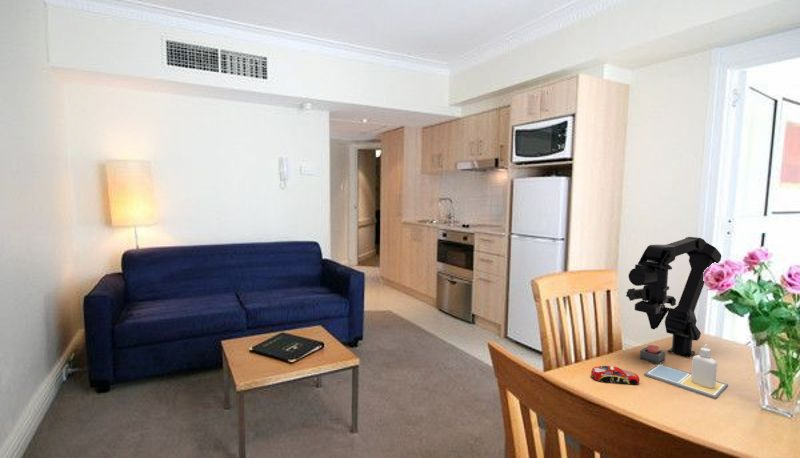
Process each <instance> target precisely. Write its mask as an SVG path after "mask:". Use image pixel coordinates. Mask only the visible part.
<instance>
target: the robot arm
mask: <svg viewBox="0 0 800 458" xmlns="http://www.w3.org/2000/svg"><path fill="white" fill-rule="evenodd" d="M683 254H686V255H687V256H688V262H689V263H688V264H689V267H690V271H689V274H688V277H687V280H686V282H685V285H684V288H683V290H682V293H681V296H680V299H679V300H678V304H677V303H676V302H677V299H676V298H675V297H674V296H672V295H668V293H667V292H668V290H670V286H668V279H669V271H670V270H672V269H673V267H672V266H671V265H670V264H671V263H672V262H675V260H676V258H677V257H678V256H681V255H683ZM721 260H722V254H721V253H720V251H719V250H718V248H716V247H715V246H713V245H712V244H710V243H708V242H706V241H705V239H704V238H701V237H698V236H697V237H695V236H688V237H685V238H684V239H680V240H677V241H673V242H670V243H667V244H649V245H647V247H646V248H645V250H644V251H643V253H642V255H641V256H640V259H639V261H637V264H634V268H632V269H631V270H630V271H629V273H628V279H629V282H630V283H631V284H632V285H633V286H637V287H640V286H643V287H642V288H635V287H632V288H628V289H627V291H626V298H628V300H629V301H630V302H631V301H635V300H640V301H638V302H636V303H634V311H636V312H641V313H645V314H646V315H647V318H648V322H649V326H650V329H651V330H656V329H658V327H659V326H660V325H661V323H662V321H663V320H664V326H665V330H666V331H665V332H666V333H667V334H671V335H672V342H671V343H672V344H671V347H670V348H669V349H668V350H667V352H668V353H670V354H675V355H679V356H683V357H685V358H691V357H692V356H693V355H695V354H696V351H694V350H692V349H693V341H699V340H700V338H701V334H702V333H701V331H700V330H699V327H697V322H698V320H697V317H696V314H695V310H696V307H697V304H698V301H699V299H700V296H701V294H702V290H703V288H704V286H705V283H704V281H703V272H704V270H705V269H706V268H707V267H709V266H710V265H711V264H712V263H714V262H716V263H718V264H719V263H720V261H721ZM665 304H669V305H670V306H671V307H672V308H671V307H667V306H666V305H665ZM676 304H677V305H676ZM674 306H675V307H674ZM673 307H674V308H673ZM664 318H665V319H664Z"/></svg>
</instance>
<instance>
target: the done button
mask: <svg viewBox="0 0 800 458" xmlns="http://www.w3.org/2000/svg"><path fill="white" fill-rule="evenodd" d="M646 347H647V352H649V353H653V354H658V350H660V349H659V347H658V346H657V345H654V344H653V345H652V344H649V345H646Z"/></svg>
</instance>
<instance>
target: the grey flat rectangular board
mask: <svg viewBox="0 0 800 458" xmlns="http://www.w3.org/2000/svg"><path fill="white" fill-rule="evenodd" d="M691 374H692V372H690V371H688V372H687V371H684V370H682V369H678V368H675V367H673V366H672V367H671V366H668V365H665V364H663V363H660V364H655V366H652V368H650V369H649V370H647V371H646V372H645V373H643V376H644V377H648V378H650V379H652V380H656V381H659V382H662V383H664V384H668V385H671V386H674V387H678V388H680V389H684V390H686V391H689V392H693V393H695V394H698V395H702V396H704V397H707V398H711V399H714V400H716V399H718V398H719V397H720V396H721V394H723V392H724V391H725V390H726V389H727V388H728V387H729V384H727V383H724V382H721V381H718V380H716V384H715V387H714V388H707V387H703V386H700V385H698V384H696V383H694V382H692V380H691Z"/></svg>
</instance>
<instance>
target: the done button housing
mask: <svg viewBox="0 0 800 458" xmlns="http://www.w3.org/2000/svg"><path fill="white" fill-rule="evenodd" d="M639 360H641V361H644V362H647V361H648V362H647V363H650V362H651V364H654V365H657V364H663V362H665V360H666V351H663V350H660V349H659V350H658V354H653V353H649V352H647V346H646V347H644V348H643V349H641V350H640V351H639Z"/></svg>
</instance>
